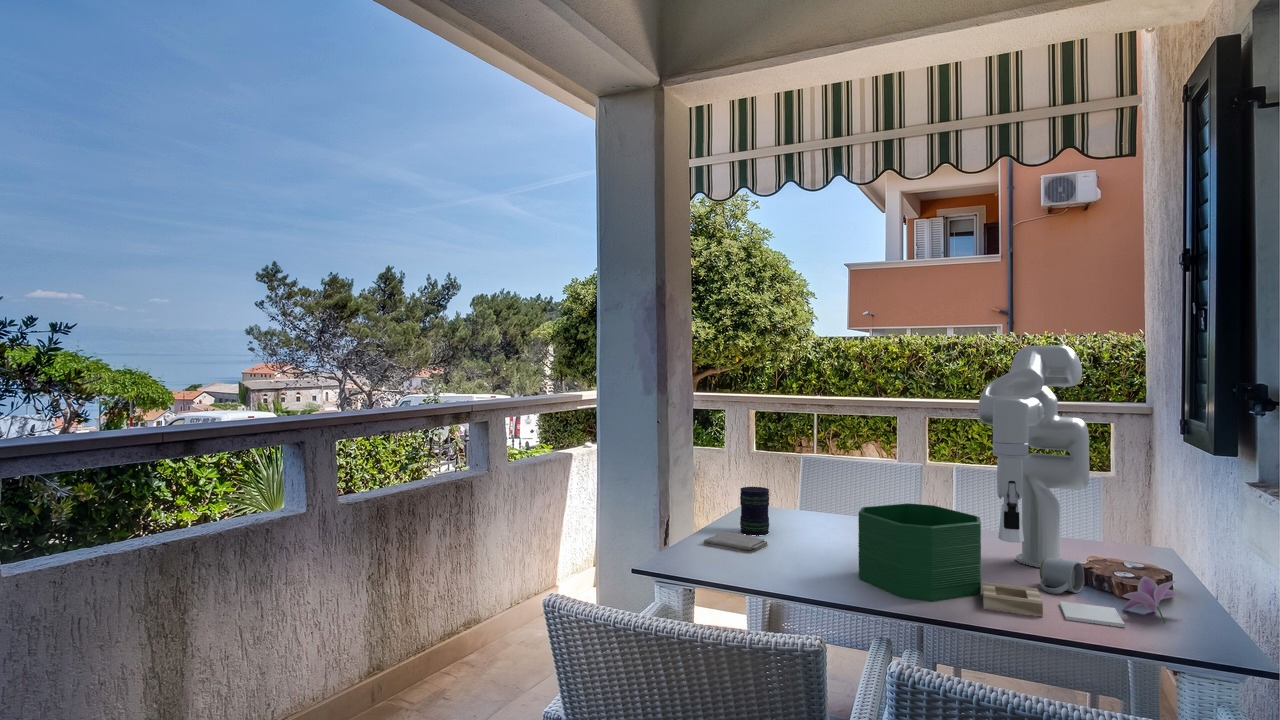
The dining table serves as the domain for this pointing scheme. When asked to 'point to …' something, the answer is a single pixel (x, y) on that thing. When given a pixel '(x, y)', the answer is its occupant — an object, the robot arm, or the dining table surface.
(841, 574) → the dining table surface
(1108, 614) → the ceramic coaster
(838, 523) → the dining table surface
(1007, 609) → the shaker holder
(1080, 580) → the ceramic mug
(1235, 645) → the dining table surface
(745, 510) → the storage jar
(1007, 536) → the pepper shaker
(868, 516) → the planter
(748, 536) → the washcloth
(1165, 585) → the lily
